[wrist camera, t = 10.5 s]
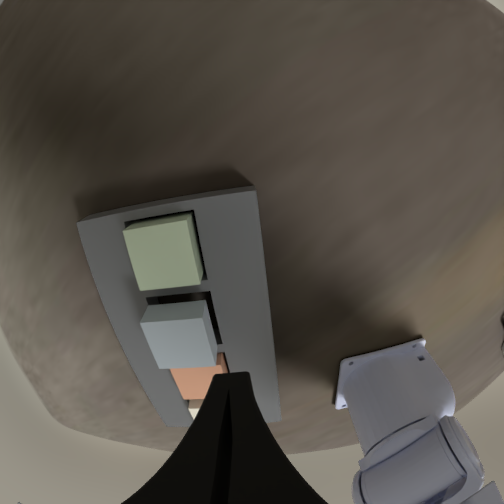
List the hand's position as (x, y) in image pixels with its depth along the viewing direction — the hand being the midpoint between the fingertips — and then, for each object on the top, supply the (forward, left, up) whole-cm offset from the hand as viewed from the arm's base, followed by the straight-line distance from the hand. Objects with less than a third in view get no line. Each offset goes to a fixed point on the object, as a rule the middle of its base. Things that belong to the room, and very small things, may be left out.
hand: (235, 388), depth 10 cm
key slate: (+4, +2, -9) cm, 10 cm away
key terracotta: (+4, +8, -10) cm, 13 cm away
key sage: (+4, -3, -10) cm, 11 cm away
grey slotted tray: (+4, +5, -10) cm, 12 cm away
